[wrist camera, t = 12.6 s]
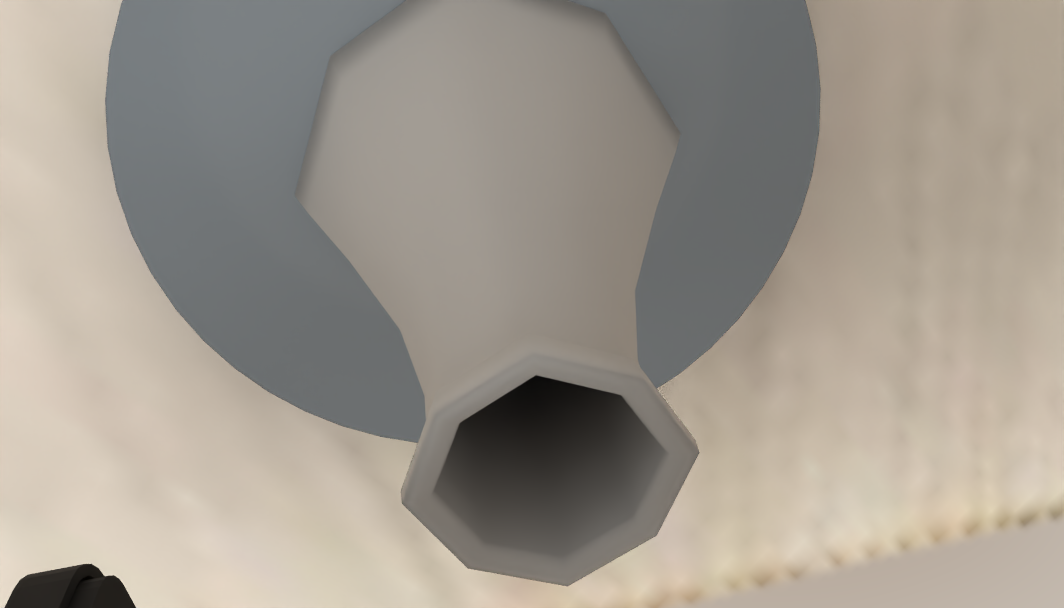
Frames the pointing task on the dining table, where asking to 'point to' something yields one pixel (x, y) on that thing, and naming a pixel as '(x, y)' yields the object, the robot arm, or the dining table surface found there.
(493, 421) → the flask
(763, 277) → the slate dish
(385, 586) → the dining table surface
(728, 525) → the dining table surface
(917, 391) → the dining table surface
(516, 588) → the dining table surface
